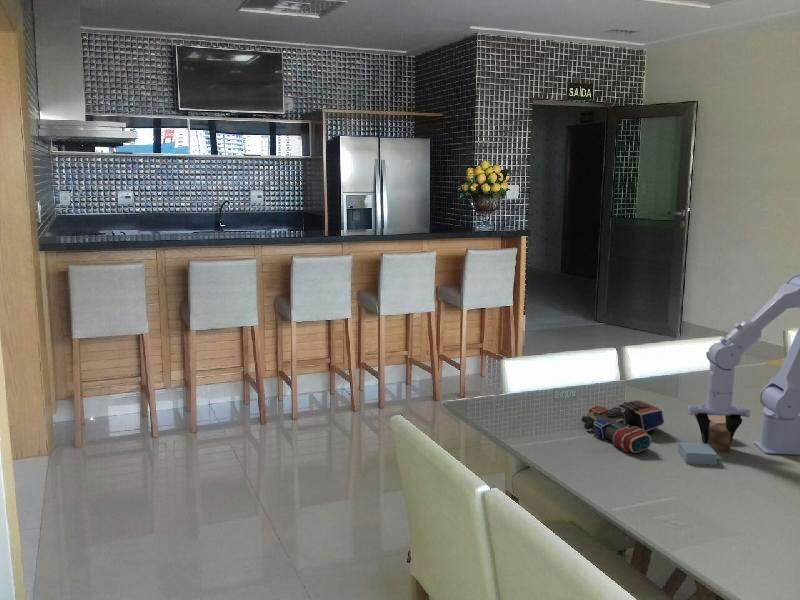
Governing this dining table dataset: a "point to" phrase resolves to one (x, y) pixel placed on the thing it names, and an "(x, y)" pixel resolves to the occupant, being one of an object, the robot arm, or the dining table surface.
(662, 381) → the dining table surface
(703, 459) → the blue slab
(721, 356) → the robot arm
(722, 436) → the walnut block
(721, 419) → the terracotta block
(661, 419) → the red blue plastic piece
